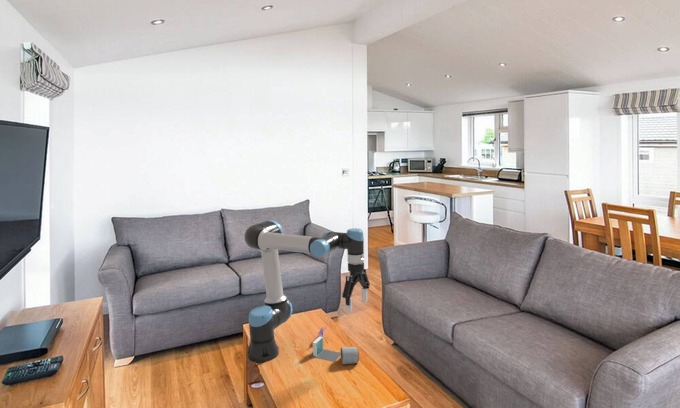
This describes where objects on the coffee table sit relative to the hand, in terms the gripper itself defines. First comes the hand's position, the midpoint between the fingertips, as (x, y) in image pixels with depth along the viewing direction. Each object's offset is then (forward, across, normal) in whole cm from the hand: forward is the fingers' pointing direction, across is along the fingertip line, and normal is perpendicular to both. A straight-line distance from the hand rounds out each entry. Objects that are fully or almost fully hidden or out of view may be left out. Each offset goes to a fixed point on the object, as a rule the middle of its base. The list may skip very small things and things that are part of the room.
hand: (356, 306), depth 198 cm
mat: (+27, -4, +16) cm, 31 cm away
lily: (+27, +6, +26) cm, 38 cm away
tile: (+26, -5, +20) cm, 33 cm away
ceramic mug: (+27, -3, +3) cm, 27 cm away
